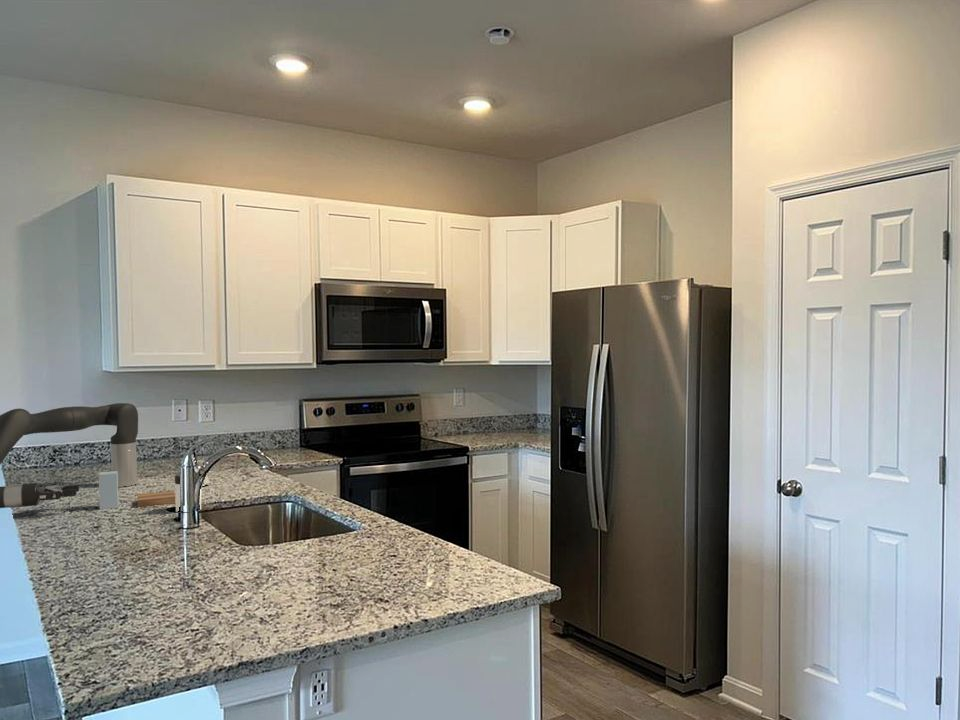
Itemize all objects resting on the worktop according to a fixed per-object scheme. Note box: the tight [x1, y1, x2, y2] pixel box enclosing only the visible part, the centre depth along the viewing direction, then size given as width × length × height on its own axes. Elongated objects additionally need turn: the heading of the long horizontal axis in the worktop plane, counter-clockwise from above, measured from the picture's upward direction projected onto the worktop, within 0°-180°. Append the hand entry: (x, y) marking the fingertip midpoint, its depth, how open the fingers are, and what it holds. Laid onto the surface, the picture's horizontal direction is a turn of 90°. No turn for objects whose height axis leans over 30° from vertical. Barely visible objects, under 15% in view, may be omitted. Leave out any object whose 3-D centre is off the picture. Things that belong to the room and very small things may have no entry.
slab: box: [136, 490, 176, 508], centre depth 255 cm, size 12×12×3 cm
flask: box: [196, 459, 211, 484], centre depth 285 cm, size 7×7×10 cm
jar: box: [174, 473, 202, 513], centre depth 241 cm, size 9×8×12 cm
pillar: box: [98, 470, 120, 510], centre depth 249 cm, size 6×6×12 cm
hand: (77, 490), depth 245 cm, fingers open, 8 cm apart
